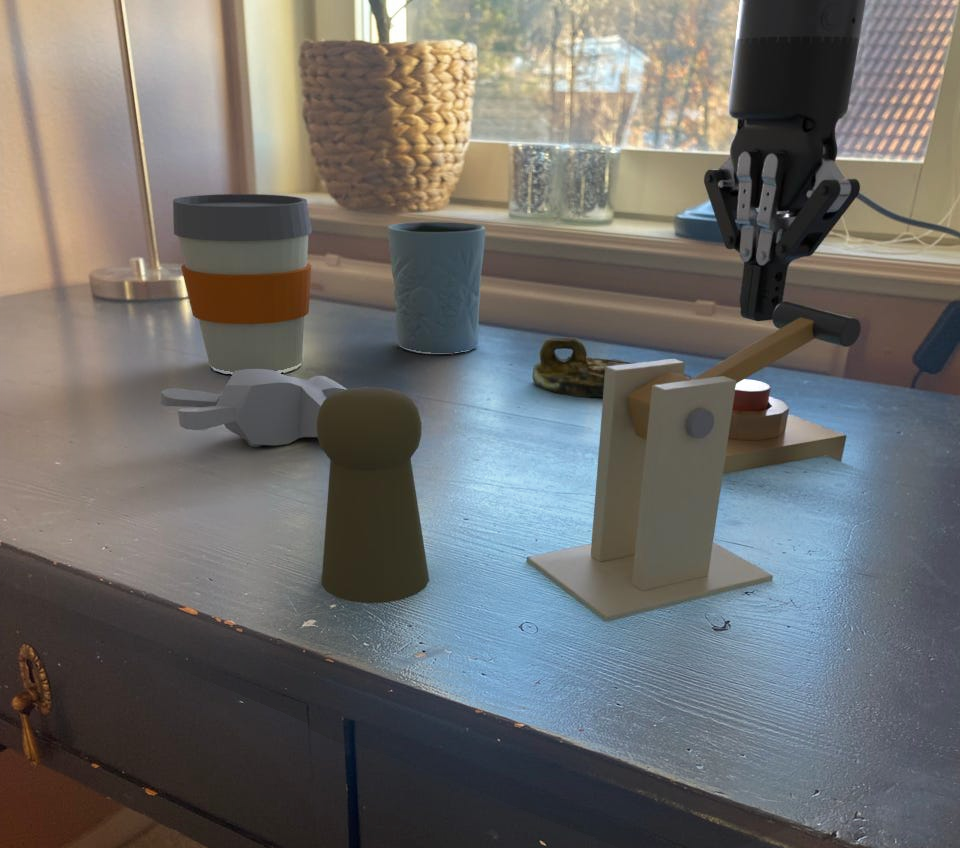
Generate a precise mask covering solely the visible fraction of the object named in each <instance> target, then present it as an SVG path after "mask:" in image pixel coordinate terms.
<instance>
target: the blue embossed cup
mask: <svg viewBox="0 0 960 848" xmlns="http://www.w3.org/2000/svg"><path fill="white" fill-rule="evenodd" d="M387 238H388V247H389V258H390V265H391V275H392V280H393V285H394V291H393V293H394V300H395V310H396V317H395V320H396V321H395V323H396V332H397V343H399V344H398V346H399V345H401V346H402V347H404V348H407V349H411V350H416V351H421V352H431V353H455V352H461V351H466V350H470V349H473V348H475V347H476V348H477V346H478V342H479V324H480V321H479V317H480V315H479V311H480V299H481V283H482V282H481V281H482V280H481V279H482V270H483V262H484V255H485V243H486V242H485V241H486V227H485V226H484V225H481V224H474V223H464V222H445V221H444V222H443V221H442V222H441V221H439V222H438V221H426V222H425V221H419V222H404V223H403V222H402V223H401V222H400V223H395V224H390V225H389V226H387ZM476 348H475V349H476Z"/></svg>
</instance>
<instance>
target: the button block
mask: <svg viewBox="0 0 960 848" xmlns="http://www.w3.org/2000/svg"><path fill="white" fill-rule="evenodd" d="M789 412H790V407H789V406H788V404H786V403H785V401H783V400H780V399H778V398H775V397H772V396H769V401H768V407H767V410H764V411H757V412H755V411H737V410H732V415H731V422H730V429H729V436H728V443H727V449H726V456H725V463H724V470H723V475H728V474H733V473H738V472H744V471H749V470H755V469H760V468H765V467H771V466H776V465H782V464H788V463H793V462H799V461H803V460H804V461H805V460H808V459H816V458H820V457H825V456H826V457H829V458H830V459H833V460H836V461H838V462H842V461H843V455H844V450H845V446H846V441H847V434H844V433H842V432H839V431H836V430H835V429H834V430H833V429H830V428H828V427H825V426H823V425H821V424H817V423H815V422H812V421H809V420H806V419H804V418H801V417H799V416H795V415H793V414H790V413H789Z"/></svg>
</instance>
